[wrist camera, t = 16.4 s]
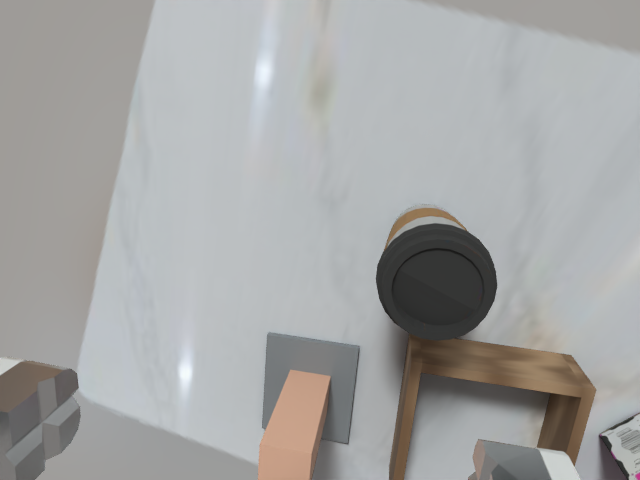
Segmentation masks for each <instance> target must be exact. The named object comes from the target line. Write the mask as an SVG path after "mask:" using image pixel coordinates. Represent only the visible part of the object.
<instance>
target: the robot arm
mask: <svg viewBox="0 0 640 480" xmlns="http://www.w3.org/2000/svg"><path fill="white" fill-rule="evenodd" d="M78 388H79V387H78V378H77V373H76V372H75V371H73V370H72V369H70V368H65V367H59V366H55V365H50V364H45V363H40V362H35V361H27V360H24V359H18V358H12V357H2V358H0V480H35V479H36V478H37V477H38V476H39V475H40V474H41V473H42V472H43V471H44V470H45V461H46V460H47V459H49V458H52V457H54V456H56V455H58V454H60V453H62V451H63V450H65V448H66V447H67V446H68V445H69V444H70V443H71V441H72V440H73V437H74V436H75V434H76V432H77V430H78V426H79V422H80V406H79V404H78V403H77V401H76V400H75V398H74V397H73V396H72V395H73V394H74V393H75V392H76V390H77V389H78ZM473 461H474V466H475V470H476V472H474V473H473V474H472V475H471V476H469V477H468V480H581V479H580V477H579V475H578V473H577V471H576V469H575V467H574V465H573V463H572V462H571V460H570V458H569V456H568V455H567V454H566V453H565V452H563V451H556V450H549V449H542V448H529V447H523V446H517V445H511V444H505V443H499V442H493V441H487V440H481V439H478V441H477V443H476V445H475V449H474V454H473Z"/></svg>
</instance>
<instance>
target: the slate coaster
mask: <svg viewBox="0 0 640 480" xmlns="http://www.w3.org/2000/svg"><path fill="white" fill-rule="evenodd" d="M358 352H359V346H355V345H349V344H342V343H335V342H329V341H322V340H315V339H309V338H302V337H296V336H289V335H282V334H276V333H268V334H267V347H266V365H265V383H264V402H263V420H262V428H264V429H266V428H267V425H268V423H269V421H270V418H271V416H272V413H273V411H274V408H275V406H276V403H277V401H278V399H279V396H280V394H281V391H282V389H283V386H284V384H285V381H286V379H287V377H288V374H289V372H290V370H296V371H302V372H308V373H315V374H321V375H327V376H331V378H330V388H329V398H328V408H327V414H326V419H325V423H324V427H323V432H322V436H321V439H325V440H331V441H336V442H342V443H348V437H349V429H350V420H351V412H352V403H353V395H354V386H355V378H356V369H357V361H358Z"/></svg>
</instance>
